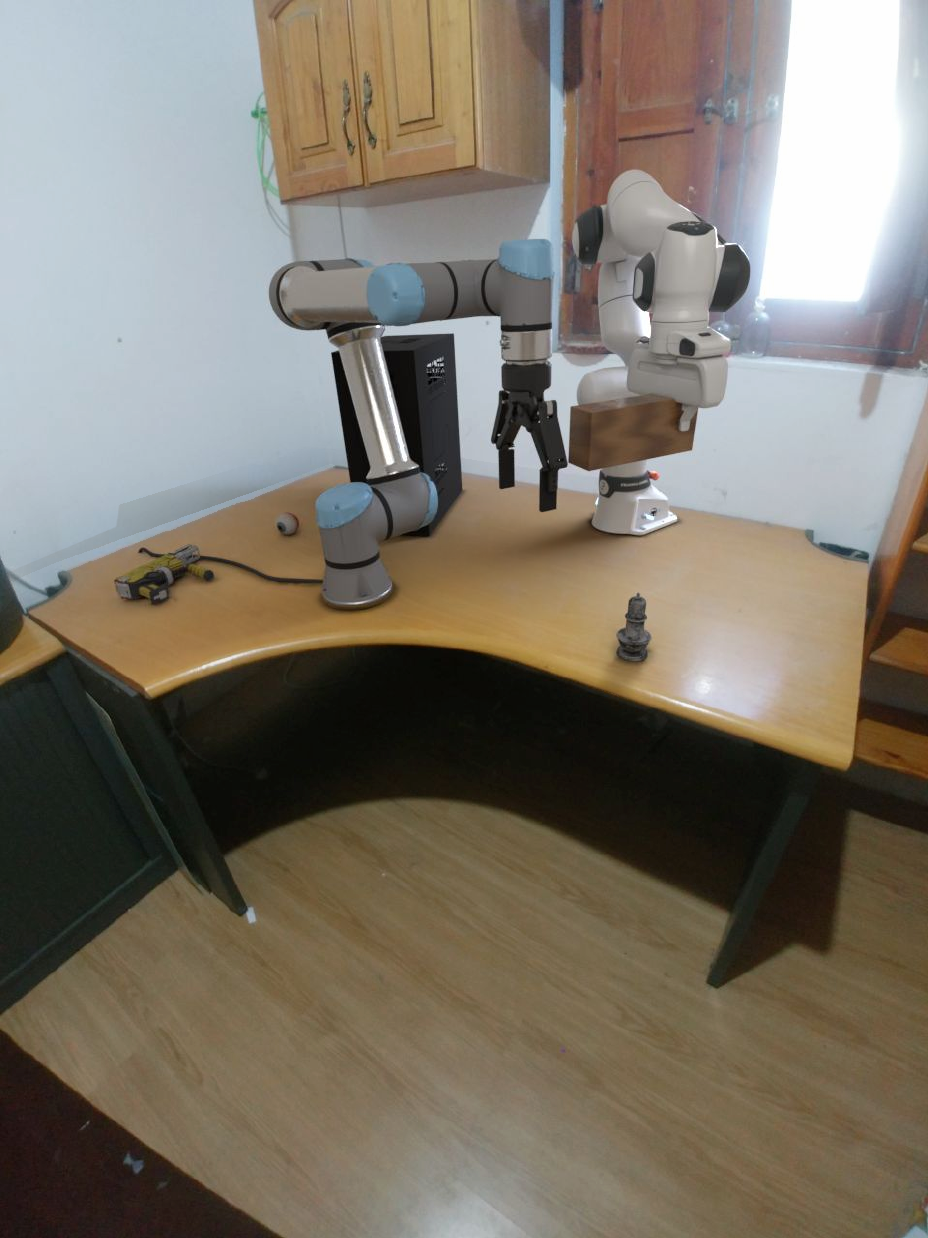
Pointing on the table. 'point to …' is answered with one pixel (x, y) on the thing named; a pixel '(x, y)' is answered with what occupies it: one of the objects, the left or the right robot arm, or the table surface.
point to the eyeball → (287, 523)
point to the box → (626, 431)
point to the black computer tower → (414, 413)
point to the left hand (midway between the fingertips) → (526, 498)
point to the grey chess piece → (634, 631)
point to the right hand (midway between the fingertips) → (667, 426)
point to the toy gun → (160, 575)
